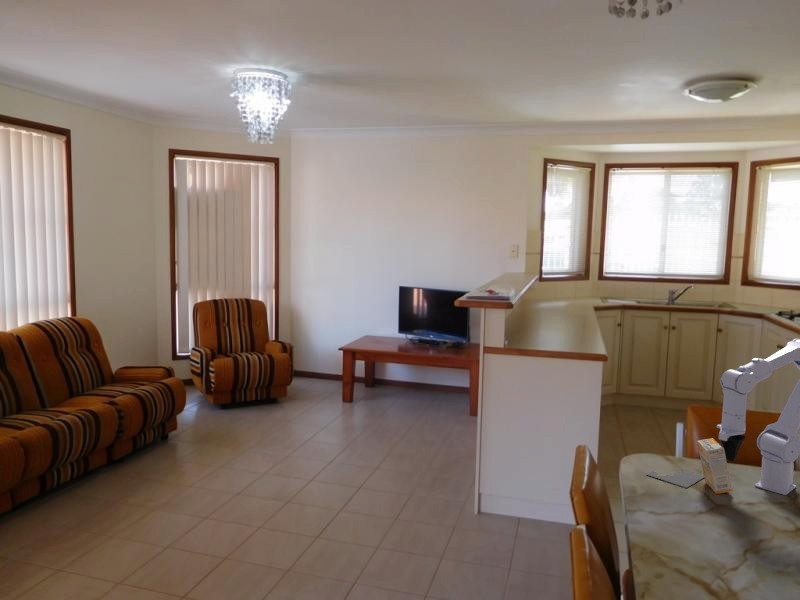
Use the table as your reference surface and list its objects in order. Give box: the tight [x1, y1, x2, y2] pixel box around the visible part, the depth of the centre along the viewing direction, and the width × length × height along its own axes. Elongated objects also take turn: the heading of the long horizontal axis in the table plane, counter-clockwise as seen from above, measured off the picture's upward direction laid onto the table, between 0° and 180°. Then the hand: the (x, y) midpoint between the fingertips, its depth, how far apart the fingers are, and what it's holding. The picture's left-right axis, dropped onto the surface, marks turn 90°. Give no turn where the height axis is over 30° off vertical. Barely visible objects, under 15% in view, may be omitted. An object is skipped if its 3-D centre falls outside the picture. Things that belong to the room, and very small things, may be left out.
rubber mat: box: [645, 467, 705, 489], centre depth 178 cm, size 13×12×1 cm
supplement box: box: [696, 437, 733, 495], centre depth 169 cm, size 8×5×13 cm, turn 172°
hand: (730, 459), depth 167 cm, fingers closed
